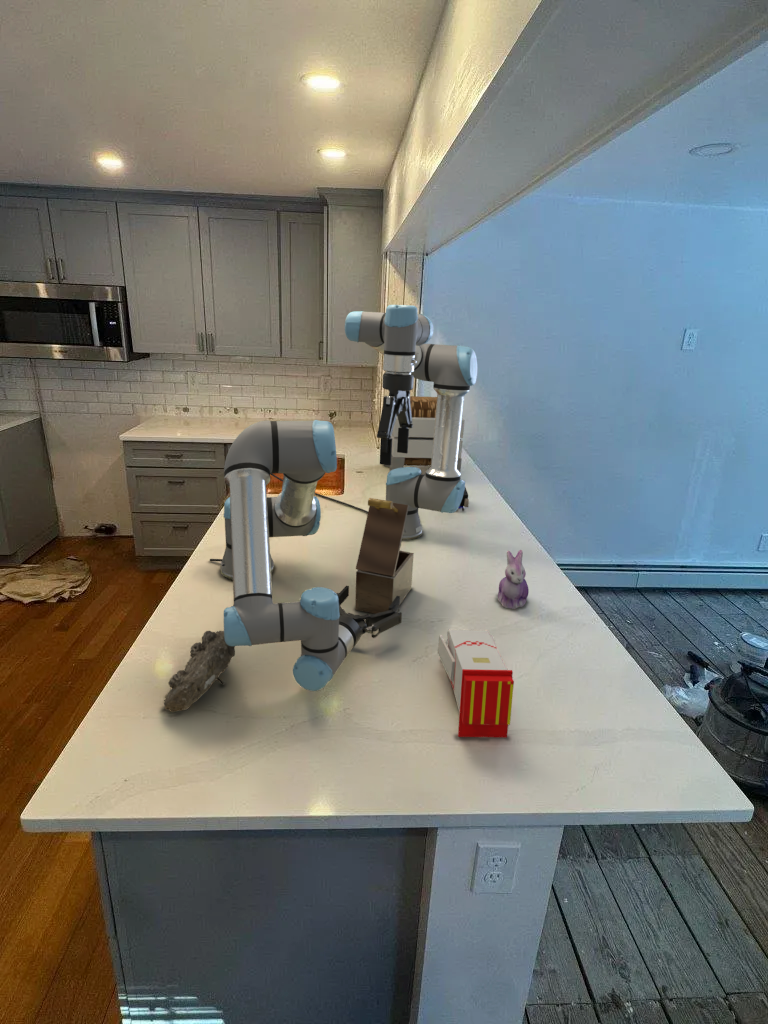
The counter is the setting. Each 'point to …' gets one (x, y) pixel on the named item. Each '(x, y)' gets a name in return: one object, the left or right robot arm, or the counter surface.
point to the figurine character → (464, 500)
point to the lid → (382, 537)
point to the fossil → (199, 671)
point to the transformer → (419, 435)
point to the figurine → (513, 583)
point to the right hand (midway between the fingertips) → (394, 458)
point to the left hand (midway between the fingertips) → (372, 595)
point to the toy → (478, 682)
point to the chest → (384, 586)
